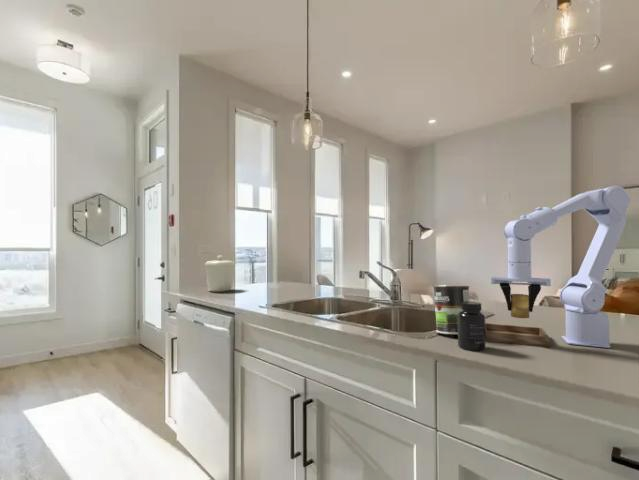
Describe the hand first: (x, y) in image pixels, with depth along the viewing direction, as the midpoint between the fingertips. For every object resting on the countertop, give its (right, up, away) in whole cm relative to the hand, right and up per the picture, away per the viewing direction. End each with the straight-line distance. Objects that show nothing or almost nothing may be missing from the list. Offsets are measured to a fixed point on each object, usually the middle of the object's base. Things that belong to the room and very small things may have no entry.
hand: (519, 310), depth 98 cm
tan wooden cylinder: (0, -2, 0) cm, 2 cm away
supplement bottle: (-16, -9, -5) cm, 19 cm away
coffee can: (-15, -9, +8) cm, 19 cm away
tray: (0, -9, +4) cm, 10 cm away
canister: (-116, -11, +109) cm, 159 cm away
